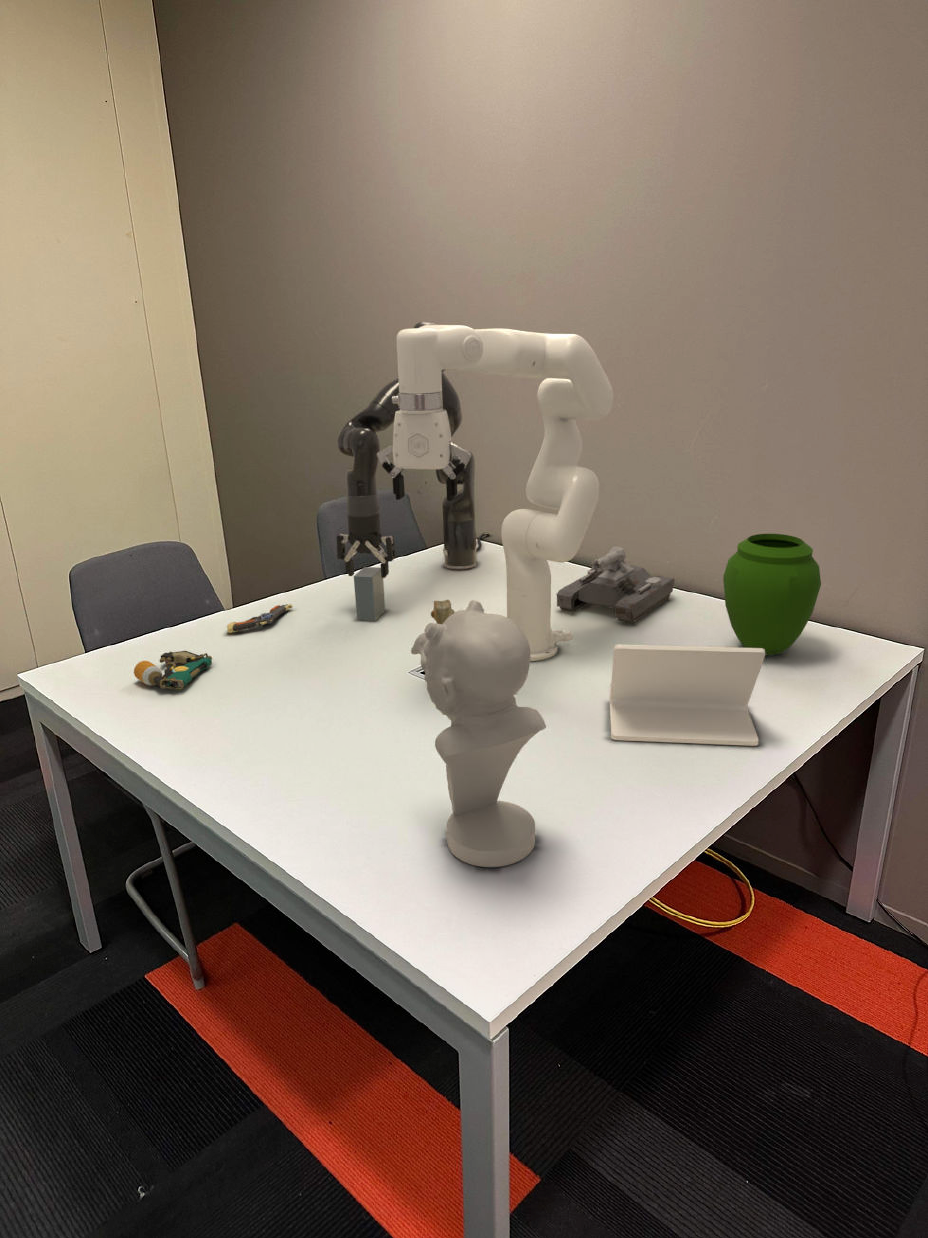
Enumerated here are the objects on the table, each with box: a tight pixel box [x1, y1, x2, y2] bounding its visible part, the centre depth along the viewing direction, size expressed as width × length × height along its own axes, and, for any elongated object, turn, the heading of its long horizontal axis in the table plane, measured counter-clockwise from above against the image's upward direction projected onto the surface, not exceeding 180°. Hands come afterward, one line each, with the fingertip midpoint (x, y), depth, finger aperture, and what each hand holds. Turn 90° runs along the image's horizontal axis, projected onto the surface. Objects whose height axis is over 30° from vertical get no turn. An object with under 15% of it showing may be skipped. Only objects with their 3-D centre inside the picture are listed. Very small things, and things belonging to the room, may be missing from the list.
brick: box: [353, 566, 386, 622], centre depth 210 cm, size 5×8×11 cm, turn 166°
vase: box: [722, 533, 822, 656], centre depth 181 cm, size 20×20×24 cm
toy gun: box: [226, 603, 293, 634], centre depth 210 cm, size 3×19×10 cm
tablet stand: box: [609, 643, 766, 747], centre depth 153 cm, size 18×25×17 cm
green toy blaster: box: [133, 650, 213, 690], centre depth 180 cm, size 4×17×15 cm
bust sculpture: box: [410, 599, 547, 868], centre depth 121 cm, size 16×24×35 cm
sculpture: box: [430, 599, 456, 624], centre depth 177 cm, size 6×7×15 cm
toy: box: [556, 546, 676, 624], centre depth 212 cm, size 25×20×15 cm
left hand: (367, 576), depth 209 cm, fingers open, 8 cm apart
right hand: (425, 498), depth 156 cm, fingers open, 9 cm apart
